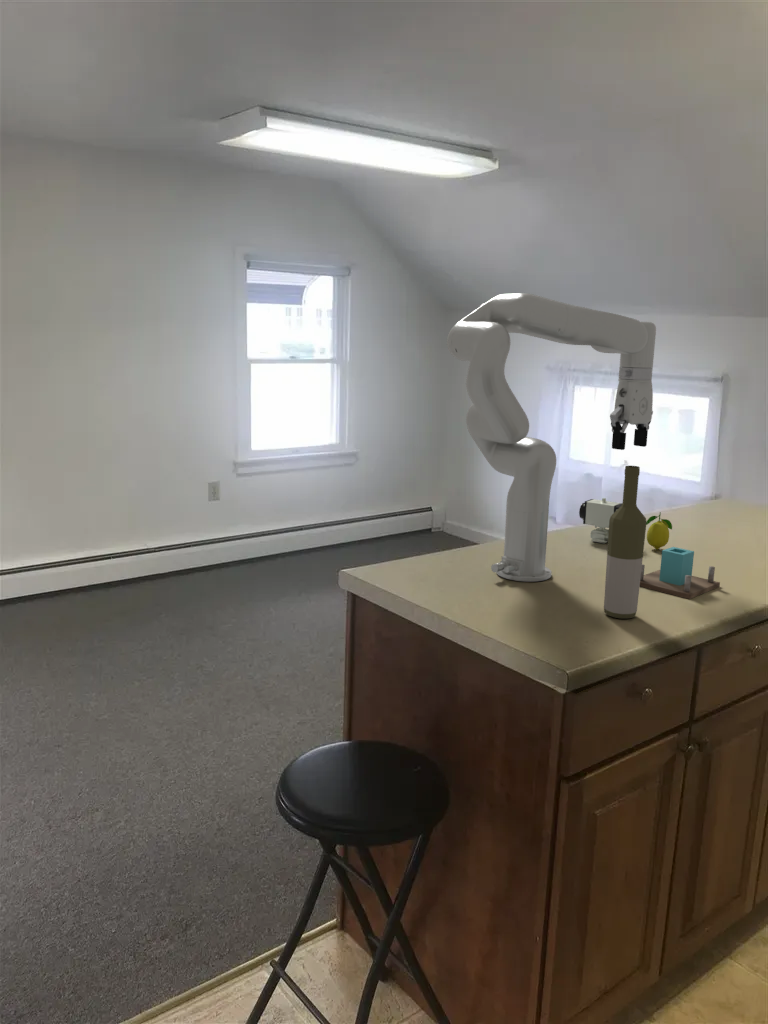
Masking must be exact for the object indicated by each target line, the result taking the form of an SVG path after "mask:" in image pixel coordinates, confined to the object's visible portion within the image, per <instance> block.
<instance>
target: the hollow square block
mask: <svg viewBox="0 0 768 1024" xmlns="http://www.w3.org/2000/svg"><path fill="white" fill-rule="evenodd" d="M694 555H695V551H694V550H690V549H686V548H681V547H676V546H671V547H668V548H665V549H662V551H661V557H660V558H661V561H660V568H659V570H660V578H659V581H663V582H667V583H671V584H675V585H679V586H681V585H683V584H685V575H690V576H691V577H692V576H693V575H692V574H693V567H694Z"/></svg>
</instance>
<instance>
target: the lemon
mask: <svg viewBox="0 0 768 1024" xmlns="http://www.w3.org/2000/svg"><path fill="white" fill-rule="evenodd" d="M661 514H662V513H661V512H659V515H658V516H657V515H652V516H650V517H648V518H647V519H646V522H647V523H646V526H647V525H649V524H650V523H651V522H653V521H654V520H656V519H657V518H658V520H657V521H655V522H653V523H652V524H650V526H649V527H648V530H647V533H646V541H647V543H648V545H650V546H651V547H653V548H654V549H655V550H659V549H661V548H663V547H666V546H667V544H668V542H669V539H670V530H673V524H672V522H671V521H670V520H669V519H665V518H661ZM669 529H670V530H669Z"/></svg>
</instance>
